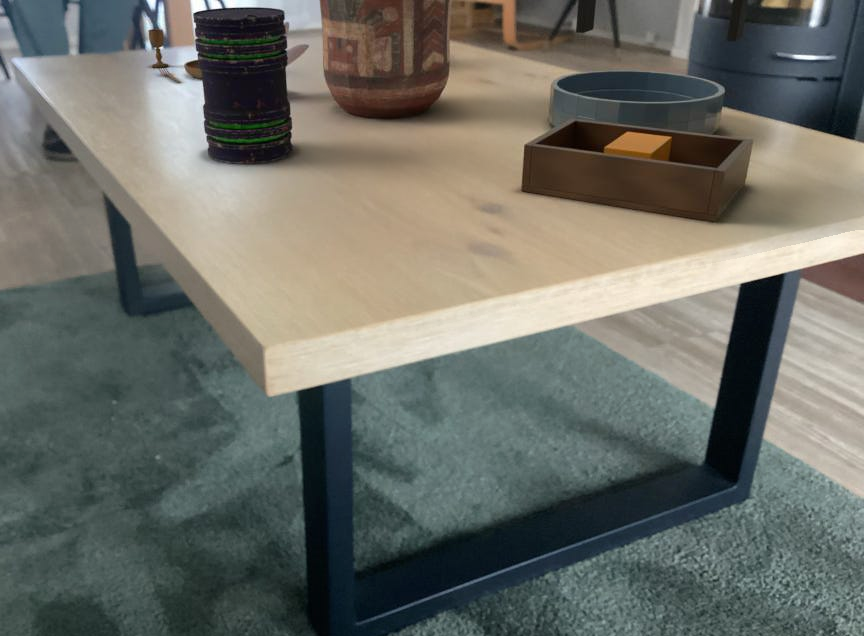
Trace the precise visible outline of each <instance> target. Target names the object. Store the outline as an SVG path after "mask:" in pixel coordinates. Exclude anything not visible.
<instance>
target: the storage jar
mask: <svg viewBox="0 0 864 636" xmlns="http://www.w3.org/2000/svg"><path fill="white" fill-rule="evenodd" d="M285 14H286V13H285V10H283V9H280V8H272V7H257V6H256V7H255V6H251V7H250V6H242V7H241V6H239V7H221V8H220V7H219V8H210V9H203V10H198V11H195V12H193V13H192V16H193V22H194V24H195V28H194V35H195V39H194V43H195V51H196V52H197V59H196V60H197V62H198V65H199V69H200V70H201V72H202V79H201V81H202V90H203V99H204V104H203V105H202V110H203V118H204V120H203V128H204V133H205V135H206V137H205V139H206V143H207V144H208V148H207V156H208V157H209V158H210V159H211V160H213V161H216V162H220V163H225V164H235V165H236V164H238V165H239V164H240V165H246V164H248V165H249V164H250V165H251V164H262V163H263V164H264V163H269V162H274V161H279V160H282V159H285V158H288V157H289V156H290V155H291V154H293V151H294V150H293V149H294V147H293V144H292V137H293V135H292V129H293V119H292V116H291V114H292V113H291V111H292V110H291V103H290V101H289V99H288V87H287V86H288V83H287V82H288V81H287V67H288V65H287V64H288V62H287V60H288V57H287V51H286V50H287V49H288V36H287V37H286V36H284V35H285V34H286V30H285V25H284V23H285V20H286V15H285Z"/></svg>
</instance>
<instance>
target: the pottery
mask: <svg viewBox="0 0 864 636" xmlns="http://www.w3.org/2000/svg"><path fill="white" fill-rule="evenodd" d="M452 4H453V0H319V8H320V9H319V10H320V19H321V33H322V34H321V35H322V67H323V77H324V80H325V84H326V86H327V88H328V90H329V92H330V94H331V97H332V98H333V100H334V101H335V102H336V104H338V105H339V107H340V108H341V109H342V110H343V111H344V112H345V113H347V114H348V115H353V116H357V117H364V118H372V119H391V118H404V117H412V116H415V115H418V114H422V113H424V112H426V111H428V110H429V109H430V108H431V106H433V104H435V103H436V102H437V101H438V100H439V98H440V97H441V96H442V93H443V92H444V89H445V88H446V86H447V83H448V80H449V76H450V66H451V46H450V45H451V42H450V41H451V40H450V39H451V34H450V33H451V32H450V31H451V19H452V16H451V15H452V6H453V5H452Z"/></svg>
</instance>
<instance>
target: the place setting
mask: <svg viewBox="0 0 864 636" xmlns="http://www.w3.org/2000/svg"><path fill="white" fill-rule="evenodd" d="M164 37H165V36H164V29H161V28H155V29H148V39H149V43H150V45H151V47H153V48H154V50H155V58H156V60H157V62H155V63H154V64H152V65H151V67H152V68H155V69H158V70H159V72H160V74H161V76H167V77H168V78H170V79H171V80H172V81H174V82H175V83H180V79H178V78H176V77H174V76H173V75H172V74H171V73H170V72H169V70H168V69H167V67H169V63H164V62H163V61H162V58H163V55H162V53H161V51H162V50H161V48H162V47H163V46H164V44H165V38H164ZM197 60H198V59H195V60H189V61H187V62H184V64H183V67H184V70H185V72H186V74H188V75H190V76H191V77H194V78H195V79H200V80H202V72H201V70H200V69H199V65H198V62H197Z"/></svg>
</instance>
